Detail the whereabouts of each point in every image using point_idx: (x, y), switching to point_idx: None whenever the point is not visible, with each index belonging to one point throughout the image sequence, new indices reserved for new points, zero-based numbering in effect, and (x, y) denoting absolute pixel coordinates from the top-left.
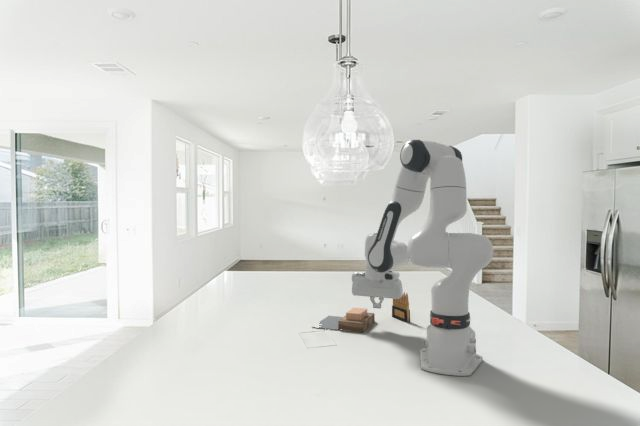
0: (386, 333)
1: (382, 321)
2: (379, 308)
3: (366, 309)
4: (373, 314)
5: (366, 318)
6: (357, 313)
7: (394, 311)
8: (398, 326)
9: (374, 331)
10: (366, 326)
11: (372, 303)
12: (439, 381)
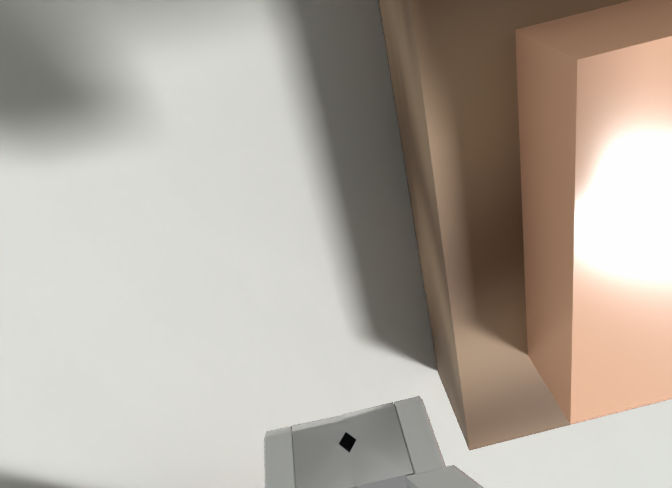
0: (14, 40)
1: None
2: (282, 429)
3: (569, 393)
4: (463, 415)
5: (465, 197)
6: (656, 63)
7: None
8: (112, 375)
9: (228, 28)
10: (398, 77)
11: (456, 468)
12: None
